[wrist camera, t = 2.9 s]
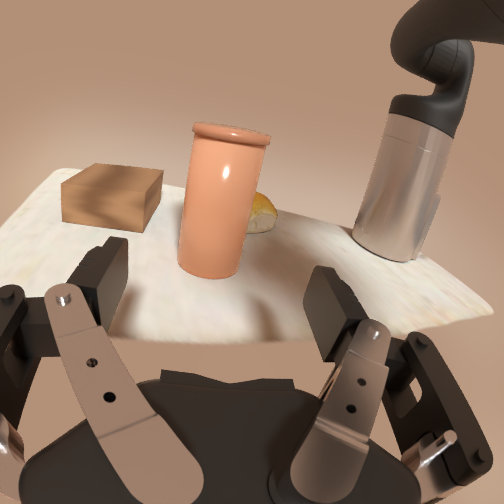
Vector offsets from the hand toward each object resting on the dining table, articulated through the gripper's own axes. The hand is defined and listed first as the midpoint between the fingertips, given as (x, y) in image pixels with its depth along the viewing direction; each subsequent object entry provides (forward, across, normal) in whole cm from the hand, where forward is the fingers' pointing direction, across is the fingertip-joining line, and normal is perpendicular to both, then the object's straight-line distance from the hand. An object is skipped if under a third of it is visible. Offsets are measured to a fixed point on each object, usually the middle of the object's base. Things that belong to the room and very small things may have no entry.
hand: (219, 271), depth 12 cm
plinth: (+19, +11, +6) cm, 23 cm away
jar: (+11, 0, +6) cm, 13 cm away
